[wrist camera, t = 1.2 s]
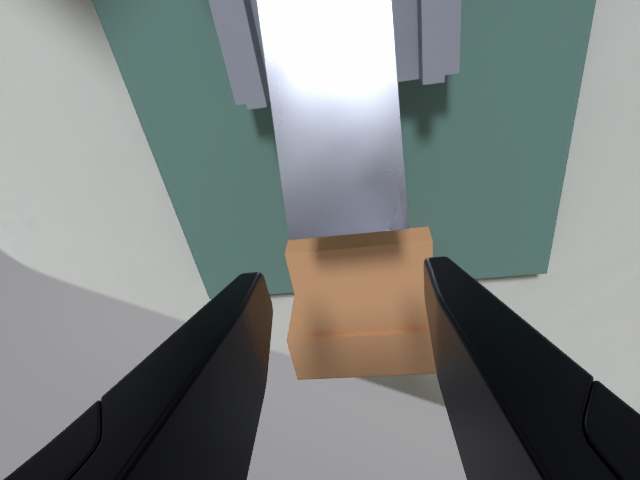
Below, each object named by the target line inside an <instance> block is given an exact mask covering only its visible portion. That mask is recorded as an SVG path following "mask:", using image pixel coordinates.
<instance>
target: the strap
mask: <svg viewBox="0 0 640 480" xmlns="http://www.w3.org/2000/svg"><path fill="white" fill-rule="evenodd" d="M257 5H258V12H259V20H260V27H261V35H262V42H263V50H264V57H265V65H266V72H267V80H268V87H269V94H270V102H271V109H272V117H273V124H274V132H275V139H276V147H277V154H278V162H279V169H280V177H281V184H282V192H283V199H284V206H285V214H286V221H287V229H288V236H289V240H296V239H307V238H318V237H328V236H339V235H350V234H360V233H371V232H382V231H392V230H403V229H409V224H408V211H407V198H406V186H405V173H404V160H403V147H402V134H401V122H400V109H399V96H398V83H397V71H396V58H395V45H394V32H393V19H392V7H391V0H257Z"/></svg>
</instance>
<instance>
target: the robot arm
mask: <svg viewBox="0 0 640 480" xmlns="http://www.w3.org/2000/svg"><path fill="white" fill-rule="evenodd" d="M424 297H425V305H426V311H427V318H428V324H429V330H430V337H431V343H432V349H433V355H434V362H435V367H436V372H437V377H438V381H439V385H440V389H441V392H442V396H443V399H444V402H445V406H446V409H447V412H448V416H449V419H450V422H451V426H452V430H453V433H454V436H455V440H456V443H457V447H458V450H459V454H460V457H461V460H462V464H463V467H464V470H465V474H466V478H467V480H640V414H639V413H638V412H636V411H635V410H634V409H632V408H631V407H630V406H629V405H627V404H626V403H625V402H624V401H622V400H621V399H620V398H619V397H617V396H616V395H615V394H614V393H613V392H611V391H610V390H609V389H608V388H606V387H605V386H604V385H603V384H602V383H600V382H599V381H594V382H593V376H592V375H590V374H589V373H588V372H587V371H586V370H584V369H583V368H582V367H581V366H579V365H578V364H577V363H576V362H575V361H573V360H572V359H571V358H570V357H569V356H567V355H566V354H565V353H564V352H562V351H561V350H560V349H559V348H558V347H556V346H555V345H554V344H553V343H552V342H550V341H549V340H548V339H547V338H545V337H544V336H543V335H542V334H541V333H539V332H538V331H537V330H536V329H535V328H533V327H532V326H531V325H530V324H528V323H527V322H526V321H525V320H524V319H522V318H521V317H520V316H519V315H518V314H516V313H515V312H514V311H513V310H511V309H510V308H509V307H508V306H507V305H505V304H504V303H503V302H502V301H501V300H499V299H498V298H497V297H496V296H494V295H493V294H492V293H491V292H490V291H488V290H487V289H486V288H485V287H484V286H482V285H481V284H480V283H479V282H477V281H476V280H475V279H474V278H473V277H471V276H470V275H469V274H468V273H467V272H465V271H464V270H463V269H462V268H460V267H459V266H458V265H457V264H456V263H454V262H453V261H452V260H451V259H450V258H448V257H446V256H442V257H430V258H426V259H425V260H424ZM272 317H273V308H272V302H271V299H270V295H269V292H268V288H267V285H266V281H265V278H264V276H263V274H262V273H260V272H250V273H242V274H240V275H239V276H237V277H236V278H235V279H234V280H233V281H232V282H231V283H230V284H228V285H227V286H226V287H225V288H224V289H223V290H222V291H221V292H219V293H218V294H217V295H216V296H215V297H214V298H213V299H212V300H210V301H209V302H208V303H207V304H206V305H205V306H204V307H203V308H201V309H200V310H199V311H198V312H197V313H196V314H195V315H194V316H192V317H191V318H190V319H189V320H188V321H187V322H186V323H185V324H183V325H182V326H181V327H180V328H179V329H178V330H177V331H176V332H174V333H173V334H172V335H171V336H170V337H169V338H168V339H167V340H166V341H164V342H163V343H162V344H161V345H160V346H159V347H158V348H156V349H155V350H154V351H153V352H152V353H151V354H150V355H149V356H147V357H146V358H145V359H144V360H143V361H142V362H141V363H140V364H138V365H137V366H136V367H135V368H134V369H133V370H132V371H131V372H129V373H128V374H127V375H126V376H125V377H124V378H123V379H122V380H120V381H119V382H118V383H117V384H116V385H115V386H114V387H112V388H111V389H110V390H109V391H108V392H107V393H106V394H105V395H103V396H102V399H101V401H97V402H96V403H94V404H93V405H92V406H91V407H90V408H89V409H88V410H86V411H85V412H84V413H83V414H82V415H81V416H80V417H79V418H77V419H76V420H75V421H74V422H73V423H72V424H70V425H69V426H68V427H67V428H66V429H65V430H63V432H61V433H60V434H59V435H58V436H56V437H55V438H54V439H53V440H52V441H51V442H49V443H48V444H47V445H46V446H45V447H44V448H42V449H41V450H40V451H39V452H37V453H36V454H35V455H34V456H32V457H31V458H30V459H29V460H28V461H26V462H25V463H24V464H23V465H21V466H20V467H19V468H17V469H16V470H15V471H14V472H13V473H11V474H10V475H9V476H8V477H6V478H5V479H4V480H247V475H248V470H249V465H250V460H251V456H252V451H253V446H254V442H255V437H256V432H257V427H258V423H259V418H260V413H261V408H262V403H263V399H264V394H265V388H266V382H267V372H268V361H269V350H270V340H271V328H272Z"/></svg>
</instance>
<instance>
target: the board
mask: <svg viewBox="0 0 640 480" xmlns="http://www.w3.org/2000/svg"><path fill="white" fill-rule="evenodd" d="M92 1H93V3H94V6H95V9H96V11H97V14H98V16H99V19H100V21H101V24H102V26H103V29H104V31H105V34H106V36H107V39H108V42H109V44H110V47H111V49H112V52H113V54H114V57H115V59H116V62H117V64H118V67H119V70H120V72H121V75H122V77H123V80H124V82H125V85H126V87H127V90H128V92H129V95H130V98H131V100H132V103H133V105H134V108H135V110H136V113H137V115H138V118H139V120H140V123H141V126H142V128H143V131H144V133H145V136H146V138H147V141H148V143H149V146H150V148H151V151H152V154H153V156H154V159H155V161H156V164H157V166H158V169H159V171H160V174H161V176H162V179H163V182H164V184H165V187H166V189H167V192H168V194H169V197H170V199H171V202H172V204H173V207H174V209H175V212H176V215H177V217H178V220H179V222H180V225H181V227H182V230H183V232H184V235H185V237H186V240H187V243H188V245H189V248H190V250H191V253H192V255H193V258H194V260H195V263H196V265H197V268H198V271H199V273H200V276H201V278H202V281H203V283H204V286H205V288H206V291H207V293H208V296H209V299H213V298H214V297H215V296H216V295H217V294H218V293H219V292H221V291H222V290H223V289H224V288H225V287H226V286H227V285H228V284H230V283H231V282H232V281H233V280H234V279H235V278H236V277H237V276H239V275H240V274H242V273H250V272H260V273H262V274H263V276H264V278H265V281H266V285H267V288H268V292H269V294H281V293H294V290H293V286H292V282H291V278H290V274H289V270H288V266H287V262H286V258H285V250H286V246H287V242H288V240H289V236H288V229H287V221H286V214H285V206H284V199H283V192H282V184H281V177H280V169H279V162H278V154H277V147H276V139H275V132H274V124H273V117H272V109H271V102H270V94H269V87H268V80H267V72H266V65H265V57H264V50H263V42H262V35H261V27H260V20H259V12H258V5H257V0H92ZM595 4H596V0H391V7H392V19H393V32H394V45H395V58H396V71H397V83H398V96H399V109H400V122H401V134H402V147H403V160H404V173H405V186H406V198H407V211H408V224H409V228H418V227H429V230H430V233H431V237H432V240H433V257H442V256H446V257H448V258H450V259H451V260H452V261H453V262H454V263H456V264H457V265H458V266H459V267H460V268H462V269H463V270H464V271H465V272H467V273H468V274H469V275H470V276H471V277H473V278H474V279H479V278H493V277H506V276H519V275H532V274H546V273H547V270H548V264H549V258H550V253H551V247H552V242H553V236H554V231H555V225H556V220H557V214H558V209H559V203H560V198H561V192H562V186H563V181H564V175H565V170H566V164H567V159H568V153H569V148H570V142H571V137H572V131H573V126H574V120H575V114H576V109H577V103H578V98H579V92H580V87H581V81H582V76H583V70H584V65H585V59H586V54H587V48H588V42H589V37H590V31H591V26H592V20H593V15H594V9H595Z"/></svg>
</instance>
